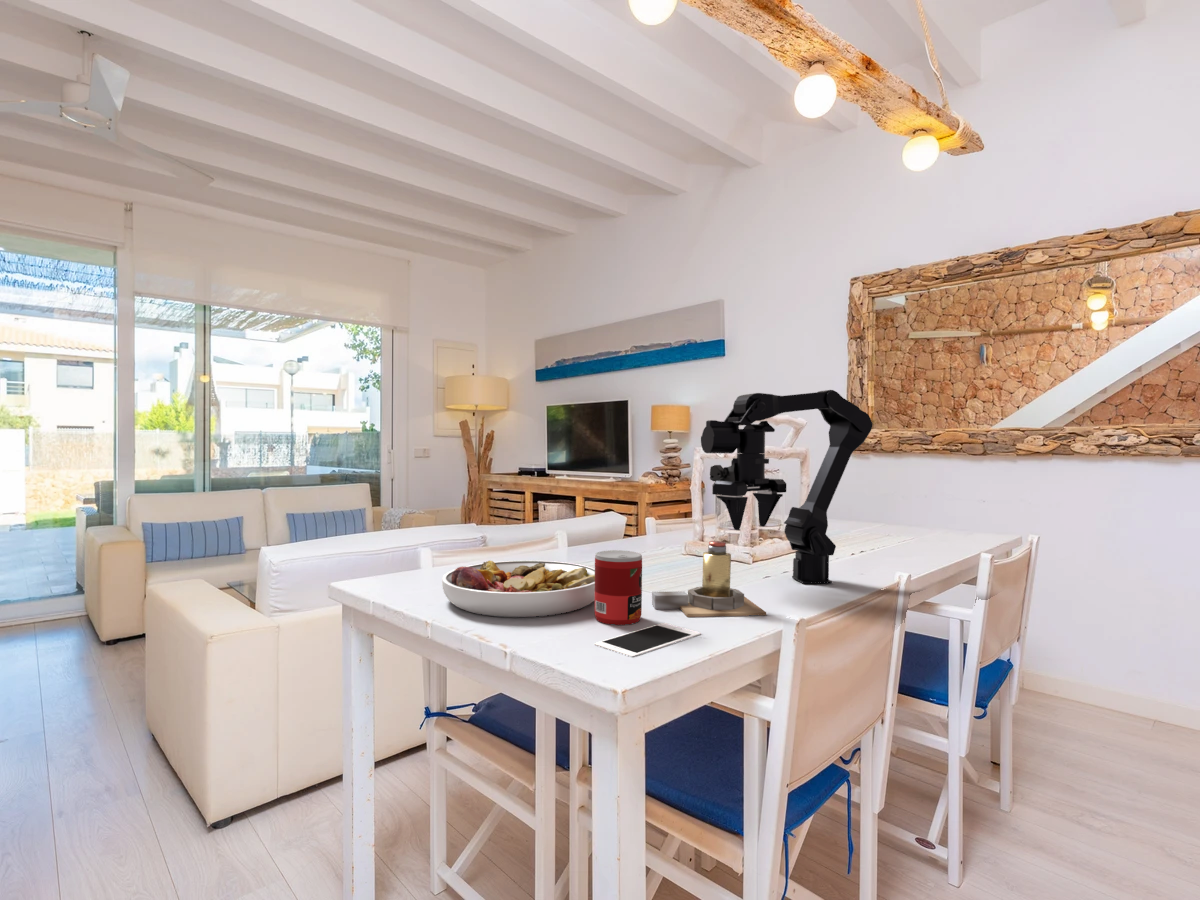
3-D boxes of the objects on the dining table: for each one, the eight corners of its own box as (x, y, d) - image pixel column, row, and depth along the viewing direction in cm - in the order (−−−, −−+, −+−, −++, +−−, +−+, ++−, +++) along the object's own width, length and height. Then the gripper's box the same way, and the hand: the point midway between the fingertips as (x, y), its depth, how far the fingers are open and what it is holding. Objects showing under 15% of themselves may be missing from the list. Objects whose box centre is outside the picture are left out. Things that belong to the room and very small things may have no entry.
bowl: (536, 577, 143) (536, 542, 143) (636, 602, 122) (637, 560, 122) (411, 599, 122) (412, 558, 122) (506, 634, 101) (507, 583, 101)
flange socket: (740, 596, 126) (740, 583, 126) (766, 615, 112) (766, 600, 112) (646, 597, 124) (646, 584, 124) (661, 617, 110) (661, 602, 110)
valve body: (717, 598, 122) (718, 539, 122) (735, 604, 118) (737, 543, 117) (696, 601, 119) (697, 541, 119) (714, 607, 115) (715, 545, 115)
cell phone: (702, 636, 101) (702, 632, 101) (632, 660, 90) (632, 656, 90) (663, 626, 106) (663, 622, 106) (593, 647, 95) (593, 643, 95)
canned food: (638, 627, 104) (638, 559, 104) (589, 623, 106) (590, 556, 106) (644, 614, 112) (645, 551, 112) (599, 611, 114) (599, 549, 113)
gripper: (745, 452, 148) (744, 521, 148) (692, 453, 136) (691, 527, 136) (788, 453, 140) (787, 526, 140) (736, 454, 127) (735, 533, 127)
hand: (749, 528), depth 136 cm, fingers open, 9 cm apart
